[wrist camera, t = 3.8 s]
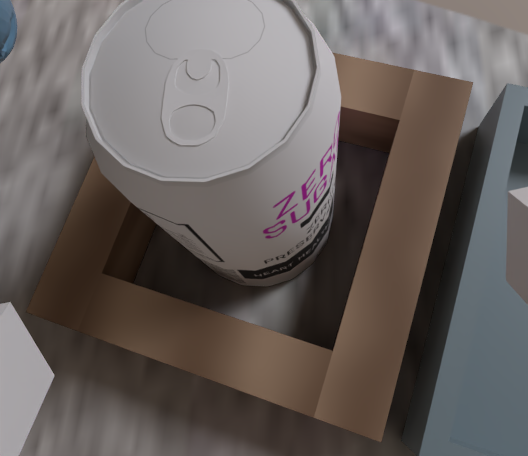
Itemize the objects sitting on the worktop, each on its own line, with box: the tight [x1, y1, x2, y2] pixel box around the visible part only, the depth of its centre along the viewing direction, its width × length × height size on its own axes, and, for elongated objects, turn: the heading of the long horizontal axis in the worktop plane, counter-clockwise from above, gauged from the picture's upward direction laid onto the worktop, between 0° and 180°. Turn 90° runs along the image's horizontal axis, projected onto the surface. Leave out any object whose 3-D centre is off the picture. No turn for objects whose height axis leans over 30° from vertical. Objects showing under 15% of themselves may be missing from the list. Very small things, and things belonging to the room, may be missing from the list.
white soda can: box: [82, 0, 341, 286], centre depth 21 cm, size 8×8×15 cm
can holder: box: [26, 53, 473, 442], centre depth 26 cm, size 18×18×4 cm
